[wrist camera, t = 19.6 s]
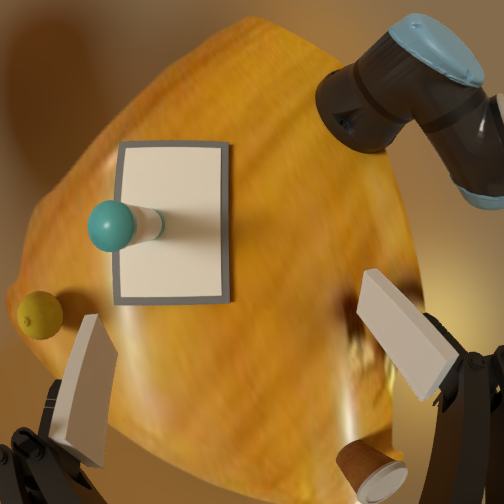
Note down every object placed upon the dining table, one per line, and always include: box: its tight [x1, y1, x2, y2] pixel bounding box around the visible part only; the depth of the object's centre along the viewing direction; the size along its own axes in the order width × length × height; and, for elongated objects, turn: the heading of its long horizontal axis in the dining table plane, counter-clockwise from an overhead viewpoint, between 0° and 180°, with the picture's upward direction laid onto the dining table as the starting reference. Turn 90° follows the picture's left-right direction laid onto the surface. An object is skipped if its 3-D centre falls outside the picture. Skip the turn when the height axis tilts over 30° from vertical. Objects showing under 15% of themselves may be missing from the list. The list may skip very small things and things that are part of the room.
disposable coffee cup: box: [336, 441, 408, 504], centre depth 32 cm, size 10×10×12 cm
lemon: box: [18, 291, 63, 340], centre depth 24 cm, size 6×6×8 cm
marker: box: [88, 200, 165, 252], centre depth 24 cm, size 4×4×12 cm
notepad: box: [112, 140, 230, 305], centre depth 32 cm, size 14×20×1 cm
